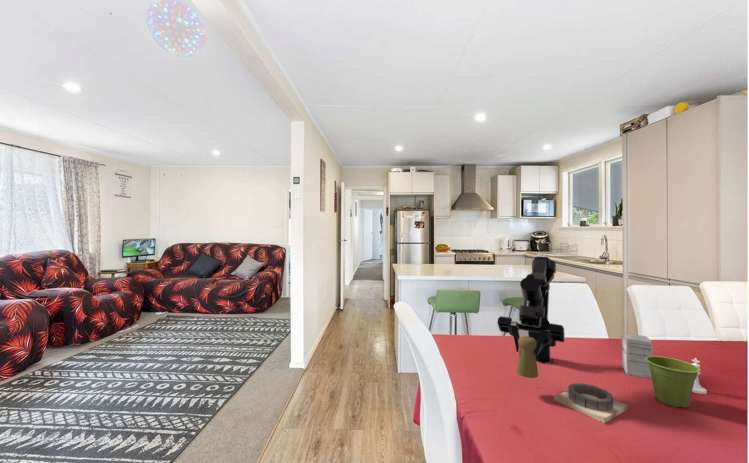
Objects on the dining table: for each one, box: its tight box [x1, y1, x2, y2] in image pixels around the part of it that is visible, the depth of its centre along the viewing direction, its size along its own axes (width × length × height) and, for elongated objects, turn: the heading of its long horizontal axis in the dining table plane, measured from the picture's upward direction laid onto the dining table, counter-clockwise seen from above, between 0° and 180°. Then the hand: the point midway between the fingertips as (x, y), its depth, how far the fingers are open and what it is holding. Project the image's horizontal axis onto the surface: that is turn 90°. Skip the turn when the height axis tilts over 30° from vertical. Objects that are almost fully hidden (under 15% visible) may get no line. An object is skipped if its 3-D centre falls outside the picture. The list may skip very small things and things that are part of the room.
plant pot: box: [645, 355, 702, 409], centre depth 94 cm, size 12×12×11 cm
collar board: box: [553, 382, 628, 424], centre depth 91 cm, size 13×13×4 cm
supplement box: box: [621, 332, 654, 380], centre depth 113 cm, size 7×7×13 cm
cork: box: [516, 335, 539, 379], centre depth 98 cm, size 6×6×11 cm
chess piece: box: [691, 357, 708, 395], centre depth 101 cm, size 5×5×10 cm
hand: (526, 353), depth 97 cm, fingers closed on cork, 5 cm apart
